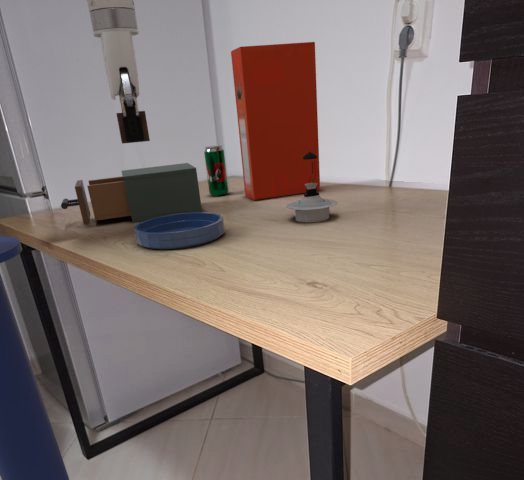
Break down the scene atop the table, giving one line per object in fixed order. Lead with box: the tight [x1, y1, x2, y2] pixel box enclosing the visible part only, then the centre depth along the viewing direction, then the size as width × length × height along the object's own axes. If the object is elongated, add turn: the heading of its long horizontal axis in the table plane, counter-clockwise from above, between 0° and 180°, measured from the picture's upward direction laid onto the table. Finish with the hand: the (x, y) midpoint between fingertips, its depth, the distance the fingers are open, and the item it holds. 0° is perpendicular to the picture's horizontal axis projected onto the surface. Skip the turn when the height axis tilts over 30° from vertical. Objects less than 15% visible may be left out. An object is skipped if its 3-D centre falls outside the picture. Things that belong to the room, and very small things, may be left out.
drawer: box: [60, 175, 131, 225], centre depth 111 cm, size 18×11×8 cm, turn 106°
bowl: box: [133, 211, 226, 250], centre depth 91 cm, size 16×16×3 cm
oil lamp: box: [286, 151, 339, 223], centre depth 95 cm, size 12×10×10 cm
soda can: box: [204, 145, 229, 197], centre depth 129 cm, size 5×5×12 cm
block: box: [115, 110, 151, 144], centre depth 92 cm, size 5×5×5 cm
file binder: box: [230, 41, 321, 201], centre depth 118 cm, size 8×17×32 cm, turn 109°
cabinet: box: [121, 162, 203, 223], centre depth 114 cm, size 16×13×10 cm
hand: (134, 139), depth 93 cm, fingers closed on block, 5 cm apart
